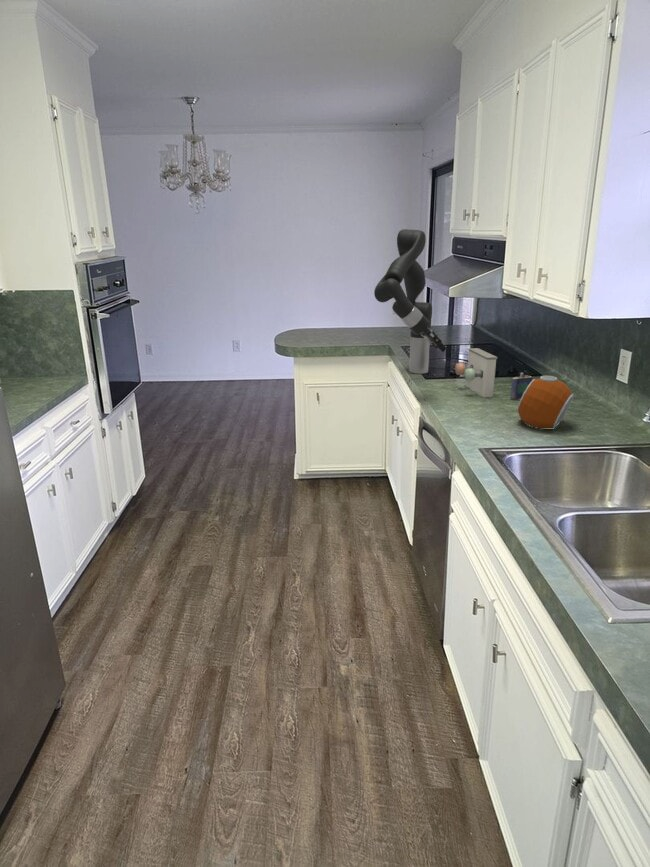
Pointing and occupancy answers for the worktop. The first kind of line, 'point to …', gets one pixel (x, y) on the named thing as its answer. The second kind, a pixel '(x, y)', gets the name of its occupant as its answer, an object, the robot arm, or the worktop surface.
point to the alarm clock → (544, 402)
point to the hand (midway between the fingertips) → (441, 348)
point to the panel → (487, 365)
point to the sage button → (472, 374)
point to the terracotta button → (461, 368)
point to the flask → (519, 386)
